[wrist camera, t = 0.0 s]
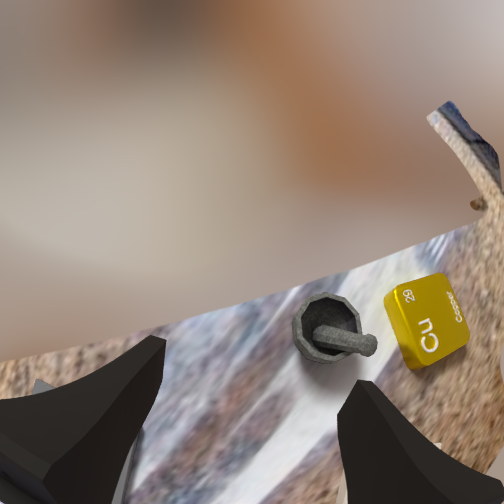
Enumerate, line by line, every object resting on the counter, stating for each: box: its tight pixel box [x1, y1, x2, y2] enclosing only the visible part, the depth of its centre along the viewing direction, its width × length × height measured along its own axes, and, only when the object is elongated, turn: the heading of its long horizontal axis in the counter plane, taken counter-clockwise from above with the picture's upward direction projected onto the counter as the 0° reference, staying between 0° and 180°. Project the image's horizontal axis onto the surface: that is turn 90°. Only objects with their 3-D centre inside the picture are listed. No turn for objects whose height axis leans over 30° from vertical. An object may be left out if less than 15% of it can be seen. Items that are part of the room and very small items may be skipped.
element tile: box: [384, 273, 470, 370], centre depth 47 cm, size 15×15×5 cm
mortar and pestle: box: [292, 292, 378, 364], centre depth 39 cm, size 11×9×12 cm
